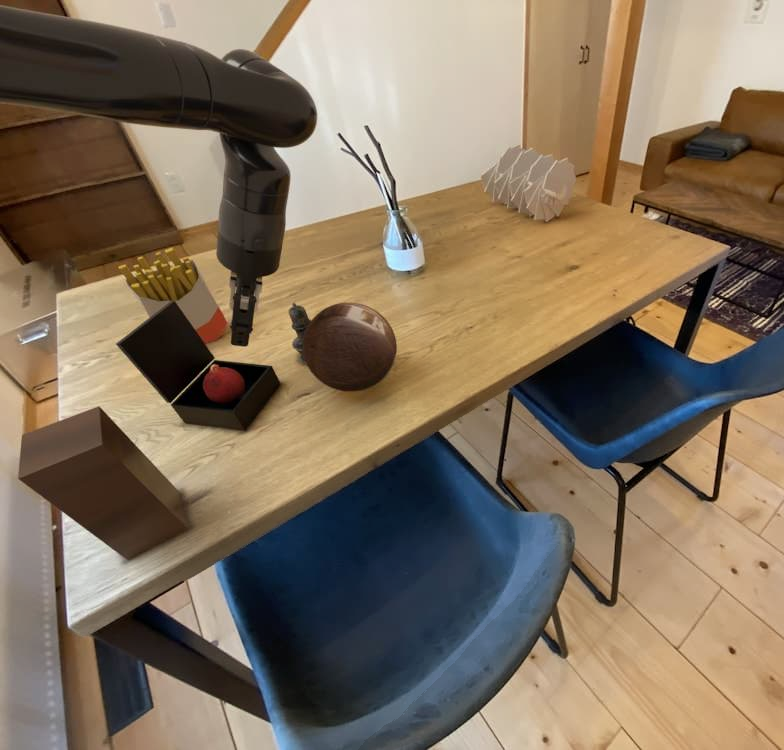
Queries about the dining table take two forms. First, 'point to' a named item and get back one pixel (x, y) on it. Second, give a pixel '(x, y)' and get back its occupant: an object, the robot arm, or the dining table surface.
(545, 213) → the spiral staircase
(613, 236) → the dining table surface
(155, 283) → the french fries container
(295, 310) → the grey chess piece
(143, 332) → the box lid
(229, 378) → the pomegranate
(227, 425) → the box
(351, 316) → the wooden sphere
